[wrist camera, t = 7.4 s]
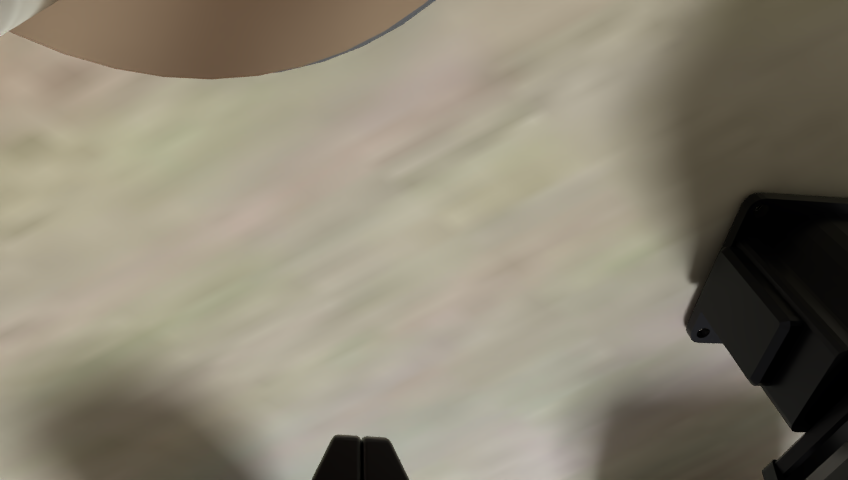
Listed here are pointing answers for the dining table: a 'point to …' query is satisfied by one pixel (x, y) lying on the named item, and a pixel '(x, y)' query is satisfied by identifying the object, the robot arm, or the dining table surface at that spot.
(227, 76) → the lazy susan
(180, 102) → the dining table surface
